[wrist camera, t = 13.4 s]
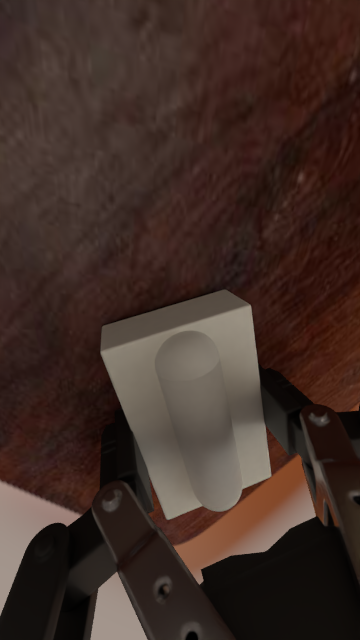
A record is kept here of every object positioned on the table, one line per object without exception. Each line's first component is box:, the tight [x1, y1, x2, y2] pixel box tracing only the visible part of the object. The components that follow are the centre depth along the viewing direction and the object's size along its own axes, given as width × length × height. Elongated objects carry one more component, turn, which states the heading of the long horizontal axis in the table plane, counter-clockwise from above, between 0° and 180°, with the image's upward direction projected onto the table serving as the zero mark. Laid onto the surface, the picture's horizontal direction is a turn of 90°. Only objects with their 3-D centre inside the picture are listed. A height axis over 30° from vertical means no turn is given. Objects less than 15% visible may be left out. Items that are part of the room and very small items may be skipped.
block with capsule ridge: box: [100, 290, 271, 520], centre depth 12 cm, size 10×6×4 cm, turn 13°
